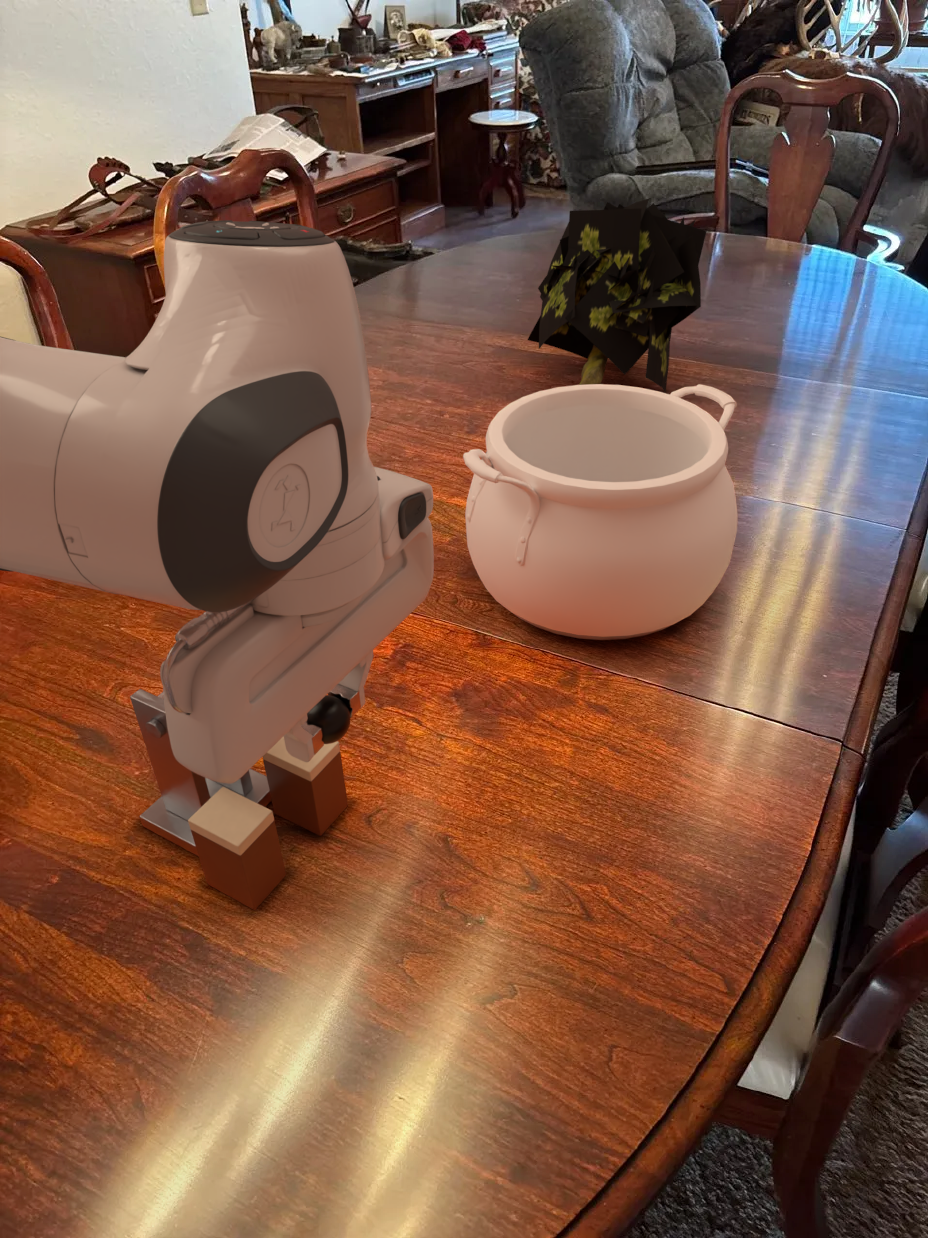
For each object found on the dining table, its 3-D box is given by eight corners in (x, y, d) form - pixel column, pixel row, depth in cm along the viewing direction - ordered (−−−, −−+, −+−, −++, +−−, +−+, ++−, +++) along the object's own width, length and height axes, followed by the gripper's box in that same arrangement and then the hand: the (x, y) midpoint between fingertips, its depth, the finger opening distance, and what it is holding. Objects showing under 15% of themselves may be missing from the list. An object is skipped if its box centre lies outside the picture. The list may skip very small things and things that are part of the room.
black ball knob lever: (366, 726, 57) (349, 686, 56) (337, 756, 55) (318, 716, 54) (195, 708, 67) (177, 674, 66) (166, 733, 65) (146, 699, 64)
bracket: (280, 791, 73) (255, 669, 65) (210, 863, 67) (174, 739, 60) (214, 760, 76) (182, 638, 68) (142, 826, 70) (98, 703, 63)
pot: (552, 701, 81) (561, 534, 70) (410, 559, 99) (400, 410, 88) (790, 597, 92) (828, 440, 82) (623, 487, 110) (637, 347, 100)
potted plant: (654, 442, 123) (746, 212, 115) (496, 384, 123) (577, 152, 115) (640, 437, 143) (717, 241, 136) (505, 387, 144) (574, 190, 136)
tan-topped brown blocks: (254, 911, 64) (238, 846, 60) (206, 884, 66) (187, 820, 62) (348, 805, 72) (339, 741, 67) (302, 784, 73) (291, 720, 69)
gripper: (207, 673, 40) (256, 870, 49) (449, 474, 54) (454, 654, 63) (106, 629, 43) (169, 824, 51) (361, 450, 57) (378, 627, 65)
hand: (327, 729), depth 57 cm, fingers closed on black ball knob lever, 3 cm apart
